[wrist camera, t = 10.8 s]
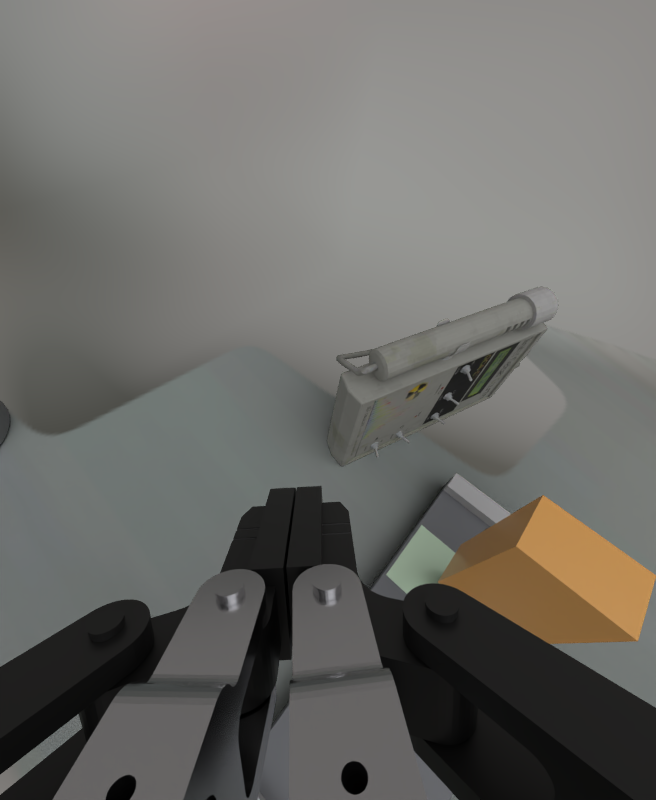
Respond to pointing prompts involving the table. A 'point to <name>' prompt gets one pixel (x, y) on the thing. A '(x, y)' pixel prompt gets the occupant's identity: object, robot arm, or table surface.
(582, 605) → the panel
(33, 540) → the table surface
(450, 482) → the console
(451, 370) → the geiger counter
